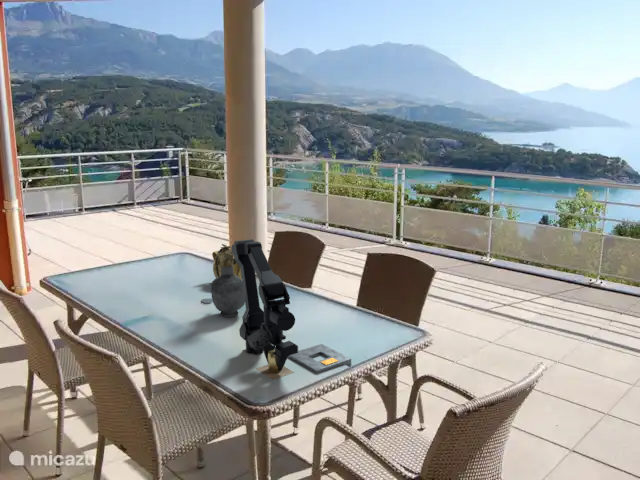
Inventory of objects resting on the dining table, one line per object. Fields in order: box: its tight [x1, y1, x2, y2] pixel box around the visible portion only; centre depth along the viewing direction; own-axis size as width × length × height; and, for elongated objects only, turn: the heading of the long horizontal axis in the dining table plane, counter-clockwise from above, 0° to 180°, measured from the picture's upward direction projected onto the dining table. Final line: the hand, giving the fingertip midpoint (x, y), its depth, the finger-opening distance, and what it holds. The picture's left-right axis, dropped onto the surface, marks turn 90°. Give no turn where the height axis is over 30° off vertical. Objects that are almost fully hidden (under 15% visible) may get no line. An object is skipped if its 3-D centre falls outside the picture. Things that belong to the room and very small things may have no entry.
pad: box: [255, 364, 295, 381], centre depth 172 cm, size 10×8×1 cm
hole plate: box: [288, 343, 352, 375], centre depth 179 cm, size 16×14×2 cm
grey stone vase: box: [210, 243, 245, 318], centre depth 226 cm, size 11×19×30 cm, turn 34°
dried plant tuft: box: [211, 250, 242, 280], centre depth 273 cm, size 22×17×15 cm
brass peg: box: [267, 350, 281, 373], centre depth 171 cm, size 4×4×6 cm
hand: (274, 367), depth 171 cm, fingers open, 6 cm apart
